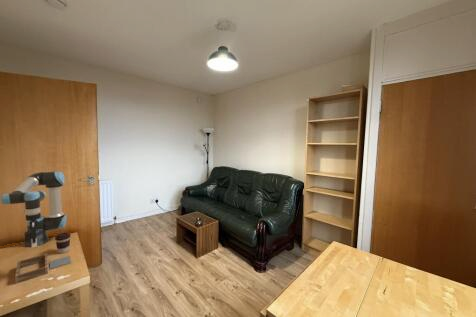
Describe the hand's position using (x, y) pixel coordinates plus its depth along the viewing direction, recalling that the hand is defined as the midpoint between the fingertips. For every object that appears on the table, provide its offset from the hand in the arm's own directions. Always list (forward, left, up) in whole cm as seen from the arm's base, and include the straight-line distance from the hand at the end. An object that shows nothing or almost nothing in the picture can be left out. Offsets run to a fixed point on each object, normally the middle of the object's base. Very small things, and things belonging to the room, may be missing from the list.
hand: (34, 244), depth 146 cm
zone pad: (0, +13, -19) cm, 23 cm away
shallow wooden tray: (0, -2, -19) cm, 19 cm away
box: (0, 0, -1) cm, 1 cm away
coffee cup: (-19, +16, -20) cm, 32 cm away
